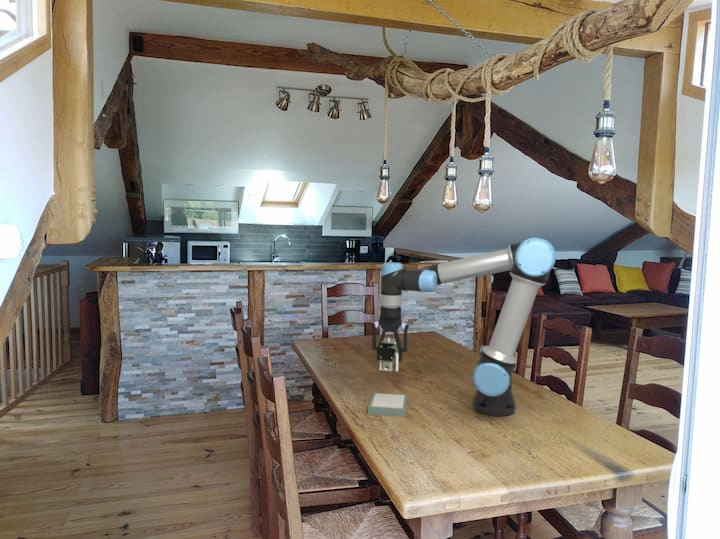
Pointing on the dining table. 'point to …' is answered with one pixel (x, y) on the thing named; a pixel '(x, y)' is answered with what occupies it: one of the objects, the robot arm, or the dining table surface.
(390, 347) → the pneumatic valve
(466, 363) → the dining table surface
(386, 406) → the stand
